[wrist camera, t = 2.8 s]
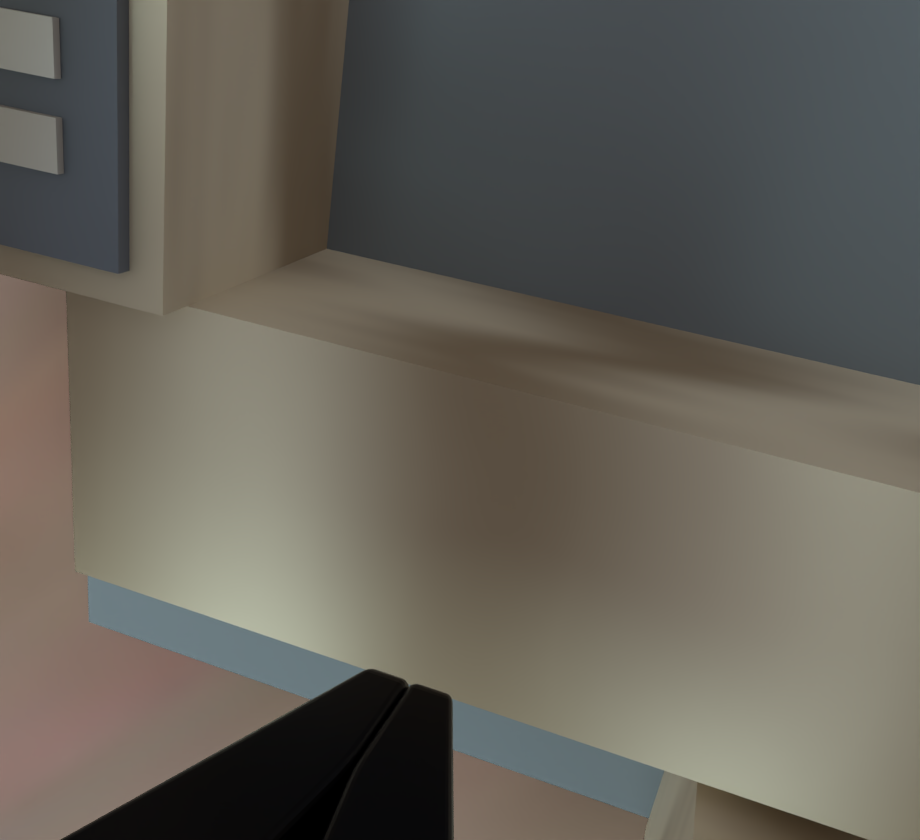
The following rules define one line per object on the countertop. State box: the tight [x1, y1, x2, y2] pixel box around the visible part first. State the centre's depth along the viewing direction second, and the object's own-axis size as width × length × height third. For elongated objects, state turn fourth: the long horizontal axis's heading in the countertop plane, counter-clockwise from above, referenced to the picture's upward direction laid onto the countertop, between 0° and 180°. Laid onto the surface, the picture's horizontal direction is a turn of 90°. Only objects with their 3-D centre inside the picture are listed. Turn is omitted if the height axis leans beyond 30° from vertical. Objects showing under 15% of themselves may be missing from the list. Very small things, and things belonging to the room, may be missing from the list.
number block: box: [0, 0, 349, 316], centre depth 12 cm, size 4×4×5 cm
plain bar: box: [66, 249, 920, 840], centre depth 13 cm, size 12×4×4 cm, turn 81°
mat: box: [88, 0, 920, 818], centre depth 15 cm, size 17×14×1 cm
